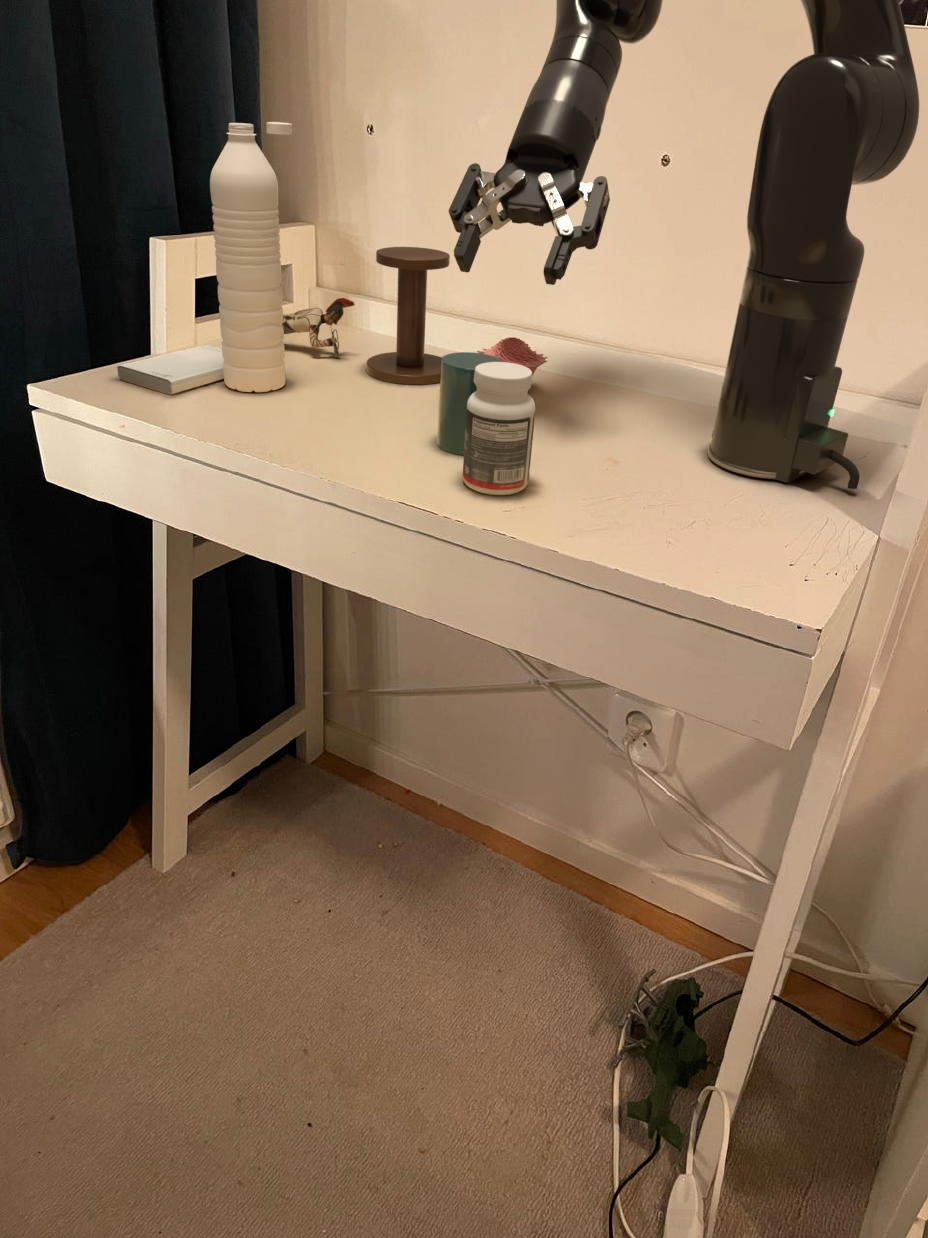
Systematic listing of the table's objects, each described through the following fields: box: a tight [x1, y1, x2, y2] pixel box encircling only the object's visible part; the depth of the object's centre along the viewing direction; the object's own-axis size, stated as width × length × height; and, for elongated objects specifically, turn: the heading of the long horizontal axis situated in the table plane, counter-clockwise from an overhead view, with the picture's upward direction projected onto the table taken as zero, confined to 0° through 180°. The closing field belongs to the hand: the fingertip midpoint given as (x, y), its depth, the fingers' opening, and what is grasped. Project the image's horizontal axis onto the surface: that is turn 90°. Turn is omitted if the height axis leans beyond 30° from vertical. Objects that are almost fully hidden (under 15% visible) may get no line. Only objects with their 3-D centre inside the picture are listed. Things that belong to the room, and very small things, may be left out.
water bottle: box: [209, 121, 293, 393], centre depth 95 cm, size 9×6×25 cm
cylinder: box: [436, 351, 502, 456], centre depth 86 cm, size 6×6×8 cm
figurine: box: [282, 297, 355, 359], centre depth 112 cm, size 6×4×15 cm
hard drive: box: [116, 344, 224, 395], centre depth 101 cm, size 2×8×12 cm
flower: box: [476, 336, 548, 377], centre depth 103 cm, size 8×8×6 cm
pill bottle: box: [462, 362, 536, 496], centre depth 78 cm, size 6×6×10 cm
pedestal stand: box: [365, 246, 451, 386], centre depth 104 cm, size 10×10×13 cm
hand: (504, 272), depth 85 cm, fingers open, 8 cm apart
